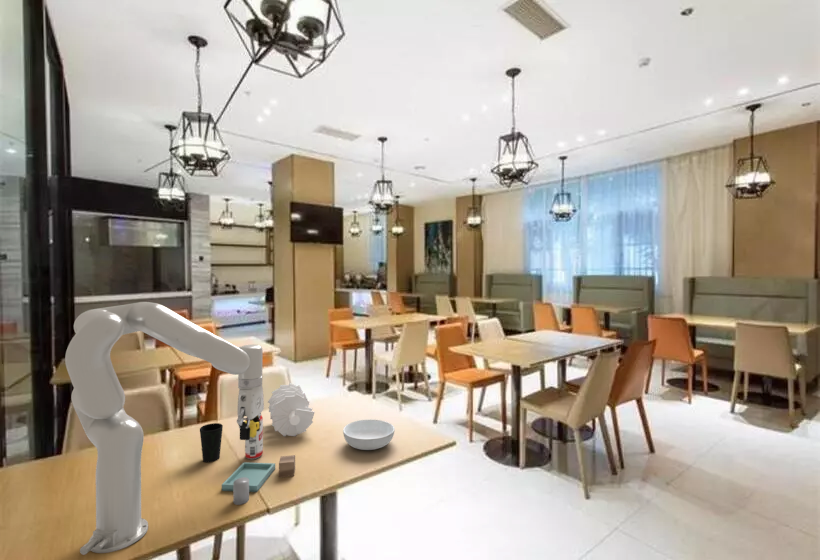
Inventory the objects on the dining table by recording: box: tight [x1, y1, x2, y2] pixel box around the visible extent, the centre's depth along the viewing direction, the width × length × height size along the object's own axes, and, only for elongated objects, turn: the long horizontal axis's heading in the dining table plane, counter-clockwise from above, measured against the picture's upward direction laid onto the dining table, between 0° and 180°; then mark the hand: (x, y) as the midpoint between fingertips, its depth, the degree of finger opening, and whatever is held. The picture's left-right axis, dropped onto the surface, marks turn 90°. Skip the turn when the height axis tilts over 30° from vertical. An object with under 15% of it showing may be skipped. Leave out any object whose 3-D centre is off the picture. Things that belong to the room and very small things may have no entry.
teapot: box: [244, 420, 259, 438], centre depth 131 cm, size 8×6×5 cm
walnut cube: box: [278, 454, 296, 478], centre depth 135 cm, size 5×5×5 cm
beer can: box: [244, 412, 264, 460], centre depth 147 cm, size 6×6×16 cm
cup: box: [199, 422, 224, 463], centre depth 145 cm, size 8×8×12 cm
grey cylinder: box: [232, 477, 250, 506], centre depth 119 cm, size 4×4×6 cm
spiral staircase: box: [267, 382, 316, 437], centre depth 174 cm, size 18×18×25 cm
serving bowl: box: [342, 418, 395, 451], centre depth 158 cm, size 21×21×7 cm
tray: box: [221, 461, 276, 493], centre depth 131 cm, size 15×12×2 cm
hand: (250, 434), depth 130 cm, fingers closed on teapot, 6 cm apart
